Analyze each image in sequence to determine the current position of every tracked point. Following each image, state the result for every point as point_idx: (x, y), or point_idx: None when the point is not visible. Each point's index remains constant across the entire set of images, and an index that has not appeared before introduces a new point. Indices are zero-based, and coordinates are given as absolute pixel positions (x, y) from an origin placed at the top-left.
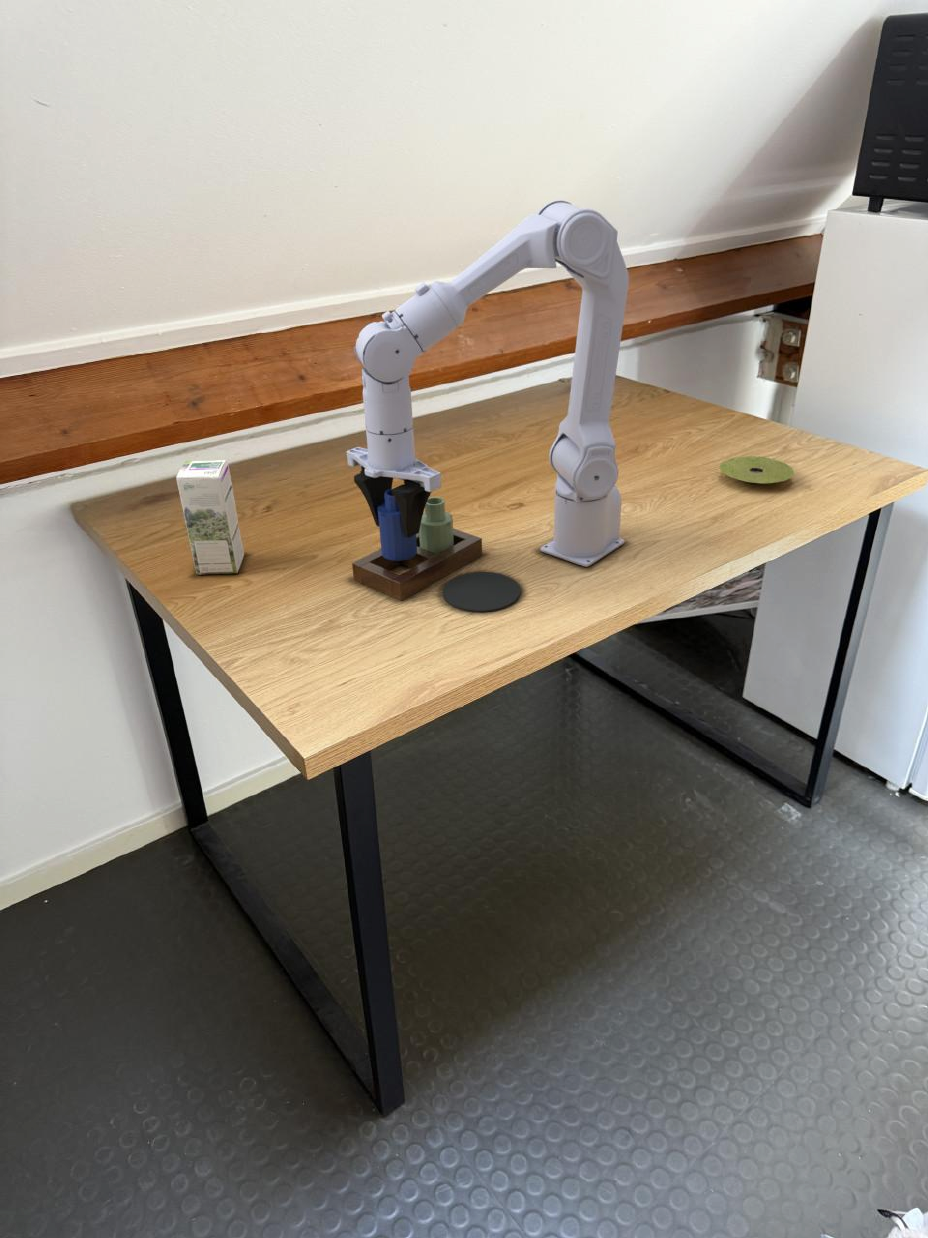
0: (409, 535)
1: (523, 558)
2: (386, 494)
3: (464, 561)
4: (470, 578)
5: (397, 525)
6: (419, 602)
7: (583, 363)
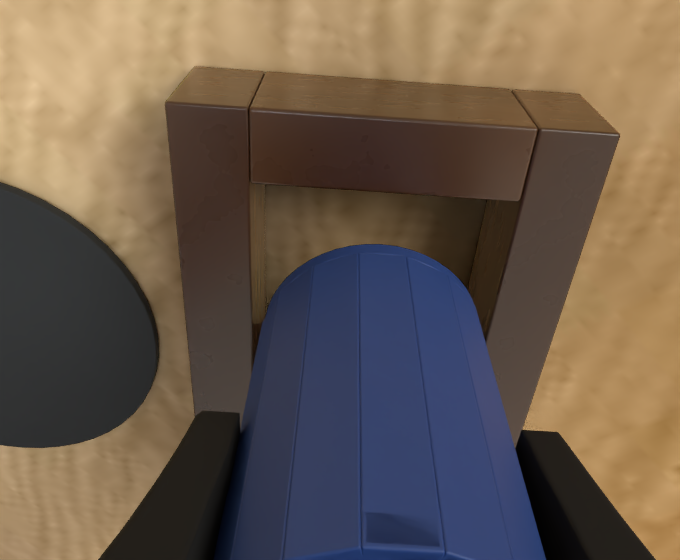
0: (189, 428)
1: (99, 541)
2: None
3: None
4: (102, 377)
5: (265, 471)
6: (112, 112)
7: None
